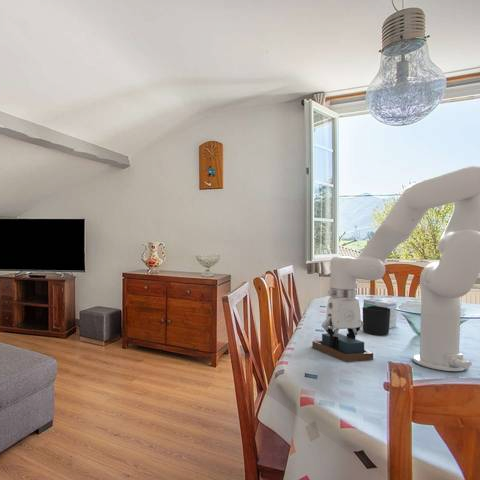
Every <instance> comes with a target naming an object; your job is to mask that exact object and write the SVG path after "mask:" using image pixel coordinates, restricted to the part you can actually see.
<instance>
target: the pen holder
mask: <svg viewBox="0 0 480 480" xmlns="http://www.w3.org/2000/svg"><path fill="white" fill-rule="evenodd" d="M362 322H363V325H362V330H363V332H364V333H365V334H368V335H373V336H387V335H389V332H390V328H389V323H390V309H389V308H386V307H380V306H369V307H366V308H364V307H363V306H362Z"/></svg>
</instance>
